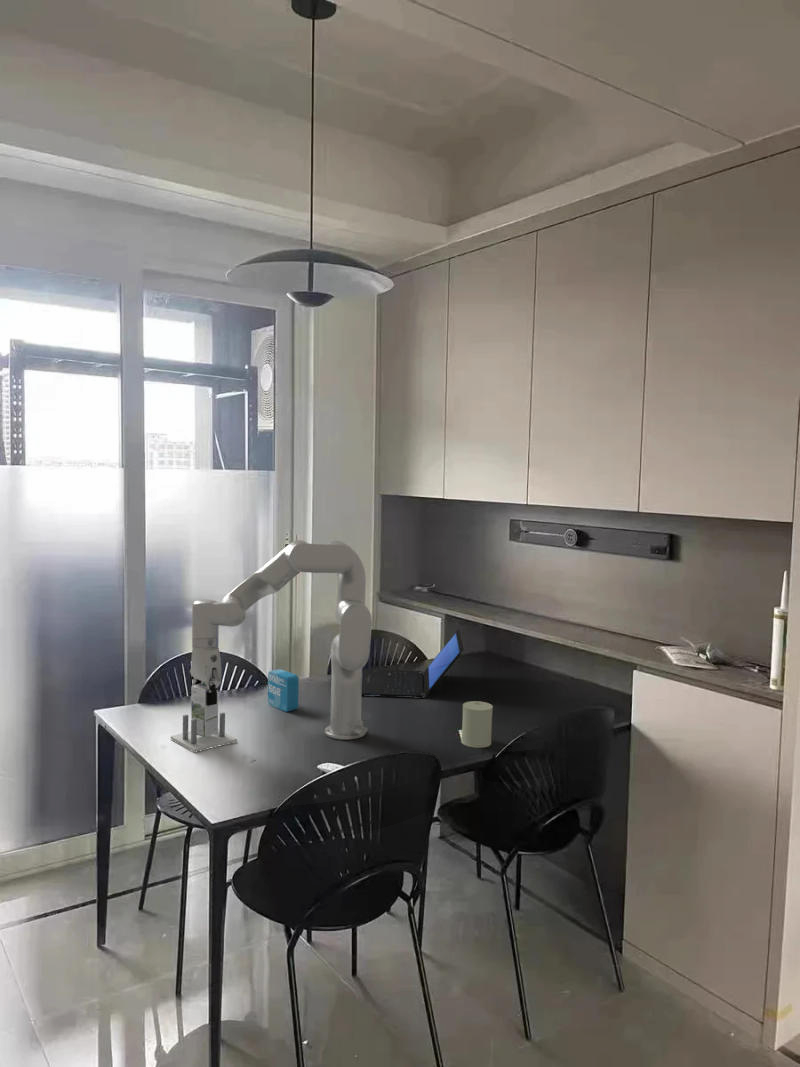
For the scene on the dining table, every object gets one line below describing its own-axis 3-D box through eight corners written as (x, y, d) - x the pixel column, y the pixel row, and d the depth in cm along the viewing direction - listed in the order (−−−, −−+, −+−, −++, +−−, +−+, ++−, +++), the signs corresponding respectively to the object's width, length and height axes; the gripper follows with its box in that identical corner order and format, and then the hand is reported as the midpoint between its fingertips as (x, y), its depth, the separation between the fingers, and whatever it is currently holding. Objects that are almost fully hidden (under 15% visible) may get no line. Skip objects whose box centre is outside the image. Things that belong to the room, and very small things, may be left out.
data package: (267, 704, 270) (267, 670, 269) (278, 702, 274) (278, 668, 273) (287, 713, 262) (288, 677, 261) (298, 710, 265) (299, 675, 264)
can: (487, 737, 245) (488, 699, 244) (494, 747, 236) (496, 708, 235) (458, 737, 244) (459, 699, 243) (464, 748, 235) (466, 708, 234)
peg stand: (237, 742, 233) (237, 715, 233) (194, 752, 224) (194, 725, 223) (212, 729, 243) (212, 704, 243) (170, 739, 234) (170, 713, 233)
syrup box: (218, 732, 234) (219, 684, 233) (204, 737, 229) (204, 689, 228) (204, 728, 237) (205, 681, 236) (190, 734, 232) (190, 685, 231)
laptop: (364, 673, 316) (365, 625, 315) (457, 677, 315) (459, 629, 314) (357, 697, 283) (358, 644, 282) (461, 701, 282) (463, 648, 280)
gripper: (232, 645, 227) (231, 706, 229) (201, 635, 240) (201, 692, 241) (209, 649, 222) (209, 711, 224) (179, 638, 234) (178, 697, 236)
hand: (204, 701), depth 232 cm, fingers closed on syrup box, 6 cm apart
